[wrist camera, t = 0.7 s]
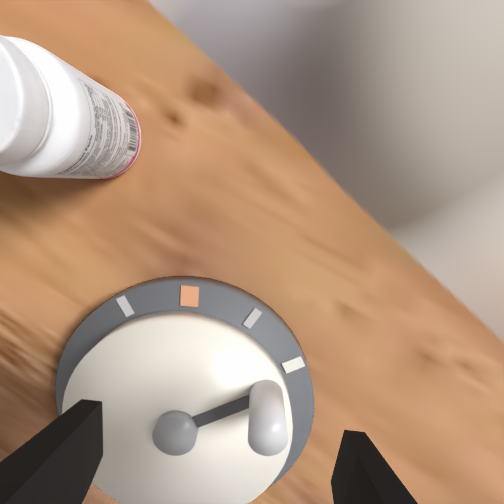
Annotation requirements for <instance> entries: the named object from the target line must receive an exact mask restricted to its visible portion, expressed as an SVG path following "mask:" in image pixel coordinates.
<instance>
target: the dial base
mask: <svg viewBox="0 0 504 504" xmlns="http://www.w3.org/2000/svg"><path fill="white" fill-rule="evenodd" d="M164 311H190V312H197V313H203V314H206V315H210V316H214V317H217V318H220V319H222V320H224V321H227V322H229V323H231V324H233V325H235V326H237V327H238V328H240V329H242V330H244V331H245V332H246V333H248V334H249V335H250V336H252V337H253V338H254V339H256V340H257V341H258V342H259V343H260V344H261V345H262V346H263V347H264V348H265V349H266V350H267V351H268V353H269V354H270V355H271V357H272V358H273V359H274V360H275V362H276V364H277V366H278V367H279V369H280V371H281V373H282V375H283V378H284V380H285V382H286V386H287V390H288V394H289V399H290V406H291V413H292V423H293V432H292V442H291V446H290V451H289V454H288V456H287V459H286V462H285V464H284V466H283V468H282V469H281V471H280V473H279V475H278V476H277V477H276V478H275V480H274V481H273V482H272V484H271V485H270V486H272V485H273V484H274V483H275V482H277V481H278V480H279V479H280V478H281V477H282V476H283V475H284V474H285V473H286V472H287V471H288V470H289V469H290V468H291V467H292V465H293V464H294V463H295V461H296V460H297V459H298V457H299V456H300V454H301V452H302V450H303V448H304V447H305V445H306V442H307V439H308V437H309V434H310V431H311V427H312V422H313V417H314V393H313V385H312V381H311V377H310V374H309V370H308V366H307V362H306V359H305V356H304V354H303V351H302V349H301V346H300V344H299V342H298V340H297V339H296V337H295V335H294V334H293V332H292V330H291V329H290V328H289V327H288V325H287V324H286V323H285V322H284V320H283V319H282V318H281V317H280V316H279V315H278V314H277V313H276V312H275V311H274V310H273V309H272V308H271V307H269V306H268V305H267V304H265V303H264V302H263V301H261V300H260V299H258V298H257V297H255V296H254V295H252V294H250V293H248V292H246V291H245V290H243V289H241V288H238V287H236V286H233V285H231V284H228V283H225V282H222V281H218V280H214V279H210V278H203V277H196V276H171V277H163V278H157V279H153V280H149V281H145V282H142V283H139V284H137V285H134V286H132V287H129V288H127V289H125V290H124V291H122V292H120V293H118V294H117V295H115V296H113V297H112V298H111V299H109V300H108V301H107V302H105V303H104V304H103V305H101V306H100V307H99V308H98V309H96V310H95V311H94V312H93V313H91V314H90V315H89V316H88V317H87V318H86V319H85V320H84V321H83V322H82V323H81V324H80V325H79V326H78V327H77V329H76V330H75V332H74V333H73V335H72V336H71V337H70V339H69V340H68V342H67V344H66V347H65V349H64V351H63V353H62V355H61V359H60V362H59V365H58V368H57V375H56V382H55V395H56V404H57V410H58V415H59V416H60V415H62V404H63V399H64V393H65V390H66V387H67V384H68V381H69V379H70V377H71V375H72V373H73V372H74V370H75V368H76V367H77V365H78V364H79V363H80V361H81V360H82V359H83V357H84V356H85V355H86V354H87V353H88V352H89V351H90V350H91V349H92V348H93V347H95V346H96V345H97V344H98V343H99V342H100V341H101V340H102V339H103V338H104V337H105V336H106V335H107V334H108V333H110V332H111V331H112V330H114V329H115V328H117V327H118V326H120V325H122V324H124V323H126V322H128V321H129V320H132V319H135V318H137V317H140V316H143V315H147V314H151V313H156V312H164ZM270 486H269V487H270ZM269 487H268V488H269Z"/></svg>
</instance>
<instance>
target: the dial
mask: <svg viewBox="0 0 504 504" xmlns="http://www.w3.org/2000/svg"><path fill="white" fill-rule="evenodd" d="M81 399H86V400H94V401H102V413H103V457H102V459H101V462H100V464H99V466H98V469H97V471H96V473H95V476H94V478H93V480H92V482H93V483H94V484H95V485H96V486H97V487H98V488H99V489H100V490H102V491H103V492H104V493H106V494H107V495H108V496H110V497H111V498H113V499H114V500H116V501H118V502H119V503H121V504H247V503H249V502H251V501H252V500H254V499H255V498H256V497H258V496H259V495H260V494H262V493H263V492H264V491H265V490H266V489H267V488H268V487H269V486H270V485H271V484H272V482H273V481H274V480H275V478H276V477H277V476H278V475H279V473H280V471H281V469H282V468H283V466H284V464H285V462H286V459H287V456H288V454H289V451H290V446H291V442H292V432H293V423H292V413H291V406H290V399H289V394H288V390H287V386H286V382H285V380H284V378H283V375H282V373H281V371H280V369H279V367H278V366H277V364H276V362H275V360H274V359H273V358H272V357H271V355H270V354H269V353H268V351H267V350H266V349H265V348H264V347H263V346H262V345H261V344H260V343H259V342H258V341H257V340H256V339H254V338H253V337H252V336H250V335H249V334H248V333H246V332H245V331H244V330H242V329H240V328H238V327H237V326H235V325H233V324H231V323H229V322H227V321H224V320H222V319H220V318H217V317H214V316H210V315H206V314H203V313H197V312H190V311H164V312H156V313H151V314H147V315H143V316H140V317H137V318H135V319H132V320H129V321H128V322H126V323H124V324H122V325H120V326H118V327H117V328H115V329H114V330H112V331H111V332H110V333H108V334H107V335H106V336H105V337H104V338H103V339H102V340H101V341H100V342H99V343H98V344H97V345H96V346H95V347H93V348H92V349H91V350H90V351H89V352H88V353H87V354H86V355H85V356H84V357H83V359H82V360H81V361H80V363H79V364H78V365H77V367H76V368H75V370H74V372H73V373H72V375H71V377H70V379H69V381H68V384H67V387H66V390H65V393H64V399H63V404H62V414H63V413H64V412H65V411H67V410H68V409H69V408H71V407H72V406H73V405H74V404H76V403H77V402H78V401H80V400H81Z"/></svg>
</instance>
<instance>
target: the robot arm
mask: <svg viewBox="0 0 504 504" xmlns="http://www.w3.org/2000/svg"><path fill="white" fill-rule="evenodd" d="M102 457H103V413H102V401H94V400H86V399H81V400H80V401H78V402H77V403H76V404H74V405H73V406H72V407H71V408H69V409H68V410H67V411H65V412H64V413H63V414H62V415H60V416H59V417H58V418H57V419H55V420H54V421H53V422H52V423H50V424H49V425H48V426H47V427H45V428H44V429H43V430H41V431H40V432H39V433H38V434H36V435H35V436H34V437H33V438H31V439H30V440H29V441H27V442H26V443H25V444H24V445H22V446H21V447H20V448H18V449H17V450H16V451H14V452H13V453H12V454H11V455H9V456H8V457H7V458H5V459H4V460H3V461H1V462H0V504H82V502H83V500H84V498H85V496H86V494H87V492H88V489H89V487H90V485H91V483H92V480H93V478H94V476H95V473H96V471H97V469H98V466H99V464H100V462H101V459H102ZM331 486H332V493H333V500H334V504H418V503H417V502H416V501H415V499H414V498H413V497H412V495H411V494H410V493H409V491H408V490H407V489H406V488H405V486H404V485H403V484H402V482H401V481H400V479H399V478H398V477H397V475H396V474H395V473H394V471H393V470H392V469H391V467H390V466H389V465H388V463H387V462H386V461H385V459H384V458H383V456H382V455H381V454H380V452H379V451H378V450H377V448H376V447H375V445H374V444H373V443H372V441H371V440H370V439H369V437H368V436H367V435H366V433H365V432H358V431H349V430H344V433H343V437H342V441H341V445H340V449H339V452H338V456H337V460H336V464H335V467H334V471H333V475H332V479H331Z"/></svg>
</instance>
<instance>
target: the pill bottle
mask: <svg viewBox="0 0 504 504" xmlns="http://www.w3.org/2000/svg"><path fill="white" fill-rule="evenodd" d="M140 148H141V129H140V125H139V122H138V120H137V117H136V115H135V113H134V112H133V110H132V109H131V107H130V106H129V105H128V104H127V103H126V102H125V101H124V100H123V99H122V98H121V97H120V96H118V95H117V94H116V93H114V92H113V91H111V90H109V89H107V88H105V87H104V86H102V85H100V84H99V83H97V82H96V81H94V80H92V79H91V78H89V77H88V76H86V75H85V74H83V73H82V72H80V71H78V70H77V69H75V68H74V67H72V66H71V65H69V64H68V63H66V62H65V61H63V60H61V59H60V58H58V57H57V56H55V55H54V54H52V53H51V52H49V51H47V50H46V49H44V48H42V47H40V46H38V45H36V44H34V43H32V42H29V41H27V40H24V39H20V38H15V37H8V36H2V35H0V171H3V172H6V173H9V174H13V175H18V176H25V177H41V178H80V179H109V178H113V177H116V176H118V175H120V174H122V173H124V172H125V171H126V170H128V169H129V168H130V167H131V166H132V164H133V163H134V162H135V160H136V158H137V157H138V154H139V151H140Z"/></svg>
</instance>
